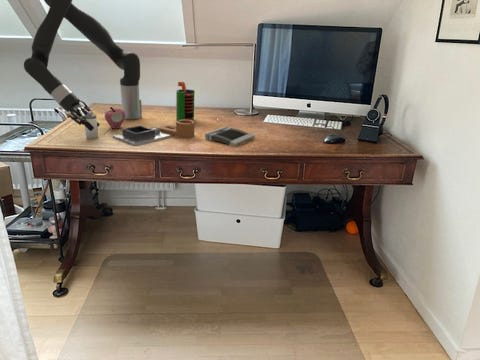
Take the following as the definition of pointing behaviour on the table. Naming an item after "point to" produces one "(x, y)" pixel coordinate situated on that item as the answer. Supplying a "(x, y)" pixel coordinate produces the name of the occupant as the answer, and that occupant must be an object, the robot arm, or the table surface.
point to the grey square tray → (229, 136)
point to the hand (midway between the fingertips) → (95, 127)
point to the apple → (115, 117)
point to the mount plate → (141, 135)
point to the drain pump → (93, 121)
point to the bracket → (180, 129)
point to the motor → (184, 103)
